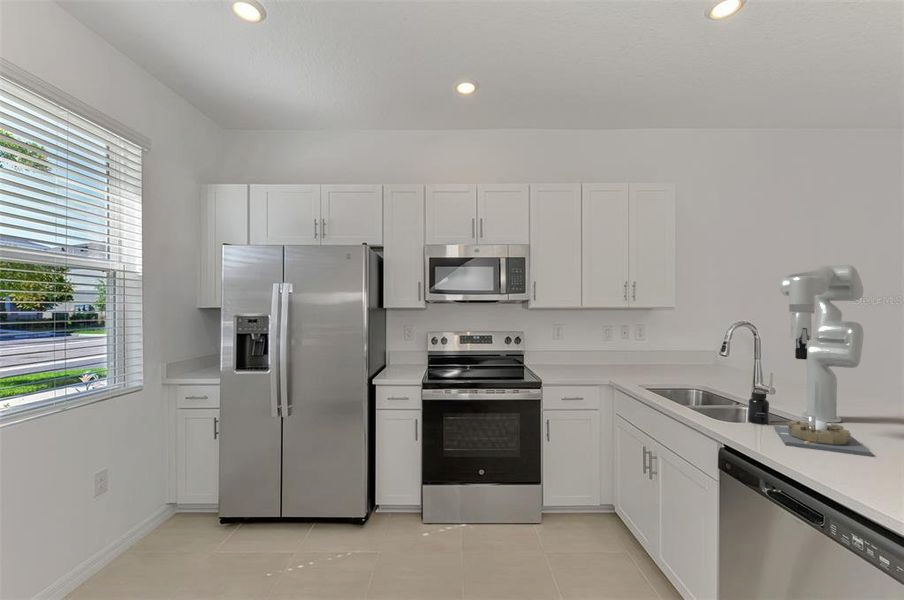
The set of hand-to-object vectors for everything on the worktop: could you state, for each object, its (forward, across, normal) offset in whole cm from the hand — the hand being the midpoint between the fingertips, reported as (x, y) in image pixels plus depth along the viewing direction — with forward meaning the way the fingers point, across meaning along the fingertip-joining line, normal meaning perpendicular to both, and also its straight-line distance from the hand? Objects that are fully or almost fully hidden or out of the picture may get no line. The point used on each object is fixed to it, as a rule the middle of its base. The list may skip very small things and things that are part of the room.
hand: (801, 358), depth 167 cm
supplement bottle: (+27, -8, -12) cm, 31 cm away
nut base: (+27, +11, +3) cm, 29 cm away
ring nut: (+26, +11, +3) cm, 28 cm away
